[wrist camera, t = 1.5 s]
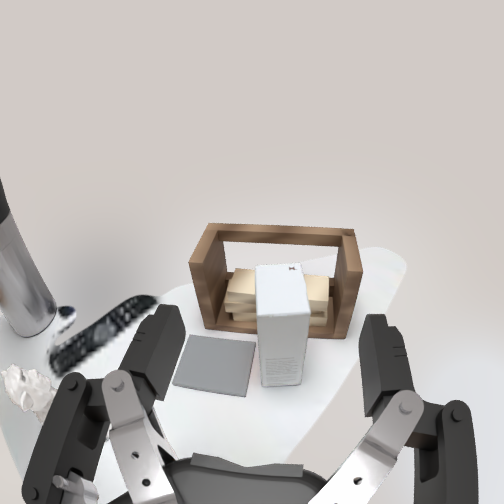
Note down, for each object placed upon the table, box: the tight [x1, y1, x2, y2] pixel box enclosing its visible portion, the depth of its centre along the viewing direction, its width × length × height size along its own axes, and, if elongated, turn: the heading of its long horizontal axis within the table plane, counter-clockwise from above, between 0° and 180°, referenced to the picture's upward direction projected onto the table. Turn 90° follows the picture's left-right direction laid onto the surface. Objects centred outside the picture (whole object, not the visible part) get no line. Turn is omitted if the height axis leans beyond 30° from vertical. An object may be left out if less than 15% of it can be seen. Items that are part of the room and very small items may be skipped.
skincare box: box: [255, 263, 311, 387], centre depth 27 cm, size 6×4×12 cm
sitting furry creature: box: [1, 364, 112, 438], centre depth 20 cm, size 10×9×12 cm
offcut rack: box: [188, 223, 363, 339], centre depth 34 cm, size 17×8×10 cm, turn 81°
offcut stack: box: [224, 268, 329, 327], centre depth 34 cm, size 12×5×5 cm, turn 81°
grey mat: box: [172, 335, 256, 397], centre depth 31 cm, size 8×7×1 cm
